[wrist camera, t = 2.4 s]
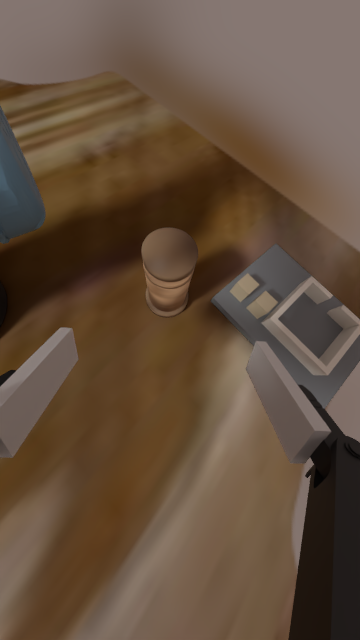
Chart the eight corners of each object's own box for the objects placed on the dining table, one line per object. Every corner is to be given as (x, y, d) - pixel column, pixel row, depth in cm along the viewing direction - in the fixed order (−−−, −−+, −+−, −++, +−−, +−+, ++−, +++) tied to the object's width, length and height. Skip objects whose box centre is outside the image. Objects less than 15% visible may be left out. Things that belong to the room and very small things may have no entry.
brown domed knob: (137, 295, 30) (122, 246, 18) (168, 271, 31) (172, 213, 20) (165, 325, 29) (166, 294, 17) (195, 300, 30) (216, 255, 19)
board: (210, 301, 31) (218, 289, 26) (271, 248, 35) (286, 230, 30) (314, 408, 27) (343, 415, 23) (368, 337, 31) (400, 331, 27)
